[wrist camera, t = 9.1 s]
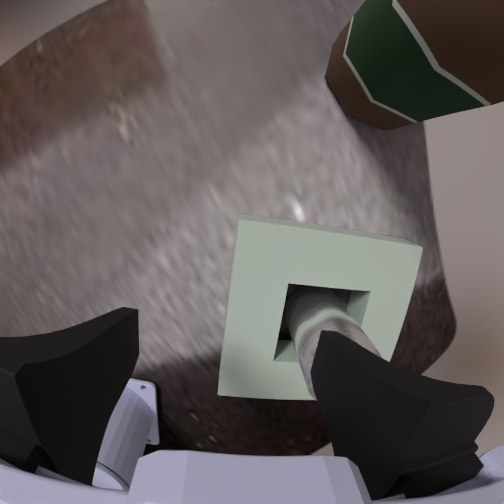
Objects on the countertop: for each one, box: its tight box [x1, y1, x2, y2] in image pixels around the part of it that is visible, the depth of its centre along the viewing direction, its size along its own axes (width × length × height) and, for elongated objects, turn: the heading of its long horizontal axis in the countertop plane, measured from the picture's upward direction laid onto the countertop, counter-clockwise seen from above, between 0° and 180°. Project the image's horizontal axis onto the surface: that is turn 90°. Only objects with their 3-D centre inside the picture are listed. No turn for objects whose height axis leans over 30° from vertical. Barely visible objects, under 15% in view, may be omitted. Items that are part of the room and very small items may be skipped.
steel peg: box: [284, 285, 382, 400], centre depth 17 cm, size 4×4×8 cm
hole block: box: [218, 214, 423, 400], centre depth 20 cm, size 12×12×3 cm
